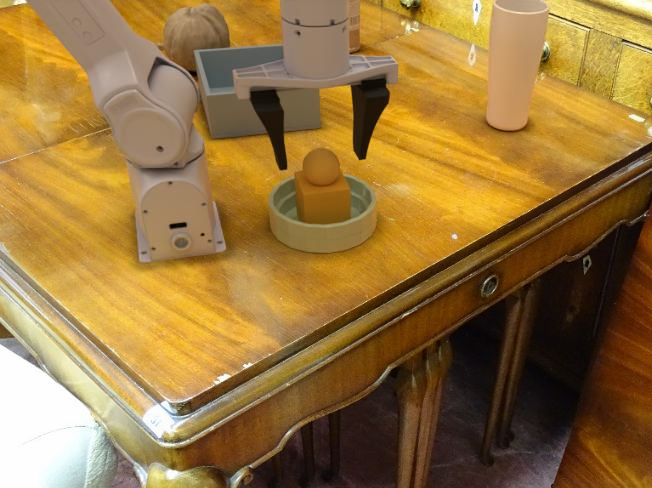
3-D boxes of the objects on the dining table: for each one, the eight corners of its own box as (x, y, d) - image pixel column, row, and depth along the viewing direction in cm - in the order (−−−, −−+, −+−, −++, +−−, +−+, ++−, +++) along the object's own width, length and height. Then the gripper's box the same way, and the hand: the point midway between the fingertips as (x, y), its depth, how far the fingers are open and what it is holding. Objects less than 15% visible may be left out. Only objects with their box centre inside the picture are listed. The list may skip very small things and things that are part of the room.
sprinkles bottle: (350, 41, 119) (348, -53, 110) (366, 50, 116) (366, -45, 107) (324, 46, 117) (321, -49, 108) (340, 56, 114) (338, -41, 105)
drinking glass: (539, 133, 97) (558, 12, 88) (488, 136, 96) (501, 14, 87) (523, 110, 102) (539, -7, 93) (474, 113, 101) (485, -6, 92)
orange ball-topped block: (351, 232, 77) (350, 158, 72) (306, 238, 76) (301, 164, 71) (340, 208, 81) (338, 136, 75) (296, 214, 79) (291, 141, 74)
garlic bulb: (229, 79, 112) (246, 10, 107) (215, 93, 104) (233, 20, 100) (164, 54, 110) (179, -16, 105) (146, 68, 103) (161, -8, 98)
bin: (320, 128, 96) (319, 85, 92) (212, 139, 92) (206, 95, 89) (298, 82, 106) (295, 42, 102) (199, 91, 102) (193, 50, 99)
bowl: (389, 248, 76) (389, 218, 74) (281, 264, 73) (278, 233, 71) (361, 194, 84) (361, 166, 82) (262, 207, 81) (259, 177, 79)
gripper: (382, -5, 70) (380, 132, 79) (220, 5, 66) (237, 150, 75) (407, 21, 65) (403, 165, 74) (234, 34, 61) (251, 185, 70)
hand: (321, 160), depth 74 cm, fingers open, 7 cm apart
